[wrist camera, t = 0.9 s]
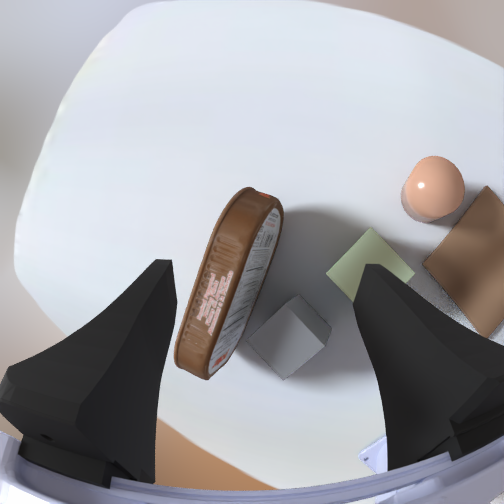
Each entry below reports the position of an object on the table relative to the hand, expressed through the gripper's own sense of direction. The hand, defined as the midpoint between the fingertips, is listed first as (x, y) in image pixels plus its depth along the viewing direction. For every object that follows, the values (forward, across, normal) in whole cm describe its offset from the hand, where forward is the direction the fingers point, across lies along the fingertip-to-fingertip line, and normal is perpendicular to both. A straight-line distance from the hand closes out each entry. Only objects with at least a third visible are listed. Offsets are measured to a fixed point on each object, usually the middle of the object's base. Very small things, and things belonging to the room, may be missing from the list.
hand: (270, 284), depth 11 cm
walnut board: (+6, -19, +3) cm, 20 cm away
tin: (+12, 0, +10) cm, 16 cm away
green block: (+10, -9, +6) cm, 15 cm away
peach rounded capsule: (+11, -14, 0) cm, 17 cm away
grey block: (+9, -4, +12) cm, 15 cm away
